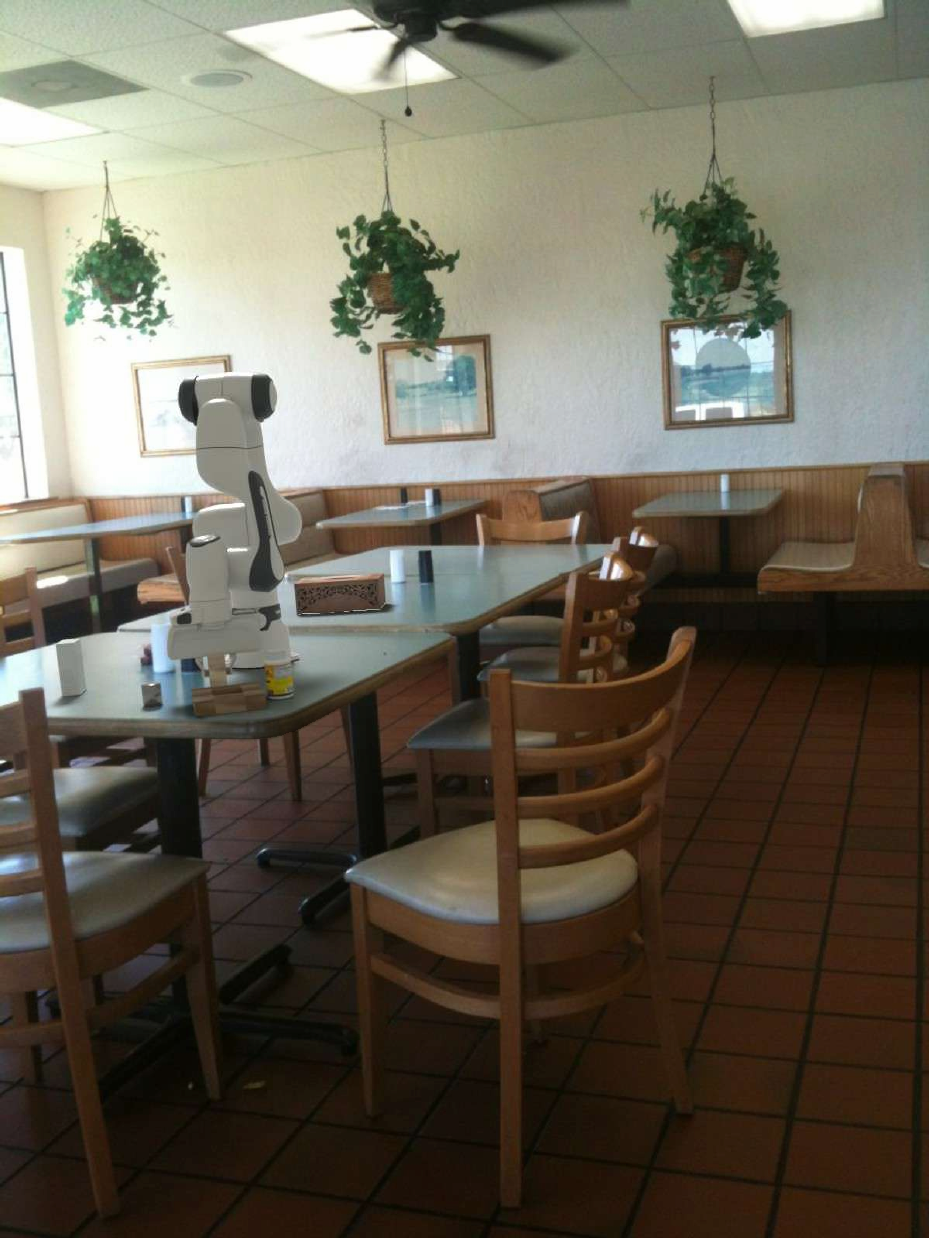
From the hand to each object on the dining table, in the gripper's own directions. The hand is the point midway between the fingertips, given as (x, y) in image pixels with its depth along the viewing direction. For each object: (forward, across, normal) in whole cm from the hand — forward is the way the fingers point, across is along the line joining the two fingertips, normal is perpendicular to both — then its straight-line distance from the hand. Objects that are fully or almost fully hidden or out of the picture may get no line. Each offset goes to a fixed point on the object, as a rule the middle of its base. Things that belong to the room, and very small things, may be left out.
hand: (217, 675), depth 270 cm
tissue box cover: (+5, -45, -113) cm, 122 cm away
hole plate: (+4, -1, +13) cm, 14 cm away
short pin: (+4, +14, +3) cm, 15 cm away
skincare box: (+4, +31, -21) cm, 38 cm away
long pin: (+4, 0, 0) cm, 4 cm away
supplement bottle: (+4, -12, +11) cm, 17 cm away
